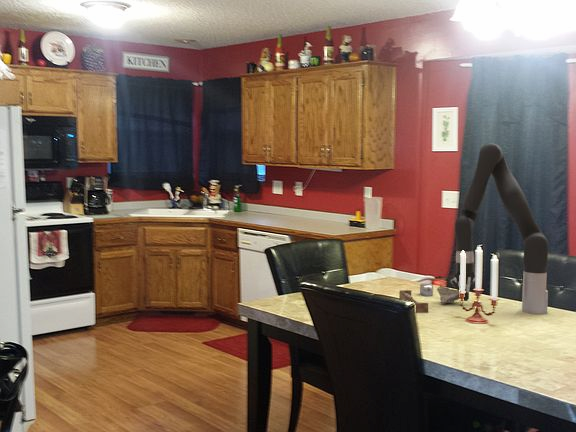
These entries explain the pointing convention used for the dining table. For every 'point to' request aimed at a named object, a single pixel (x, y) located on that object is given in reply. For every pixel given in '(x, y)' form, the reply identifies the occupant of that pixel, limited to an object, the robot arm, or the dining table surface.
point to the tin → (426, 290)
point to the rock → (448, 294)
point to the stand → (407, 296)
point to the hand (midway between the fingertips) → (465, 300)
